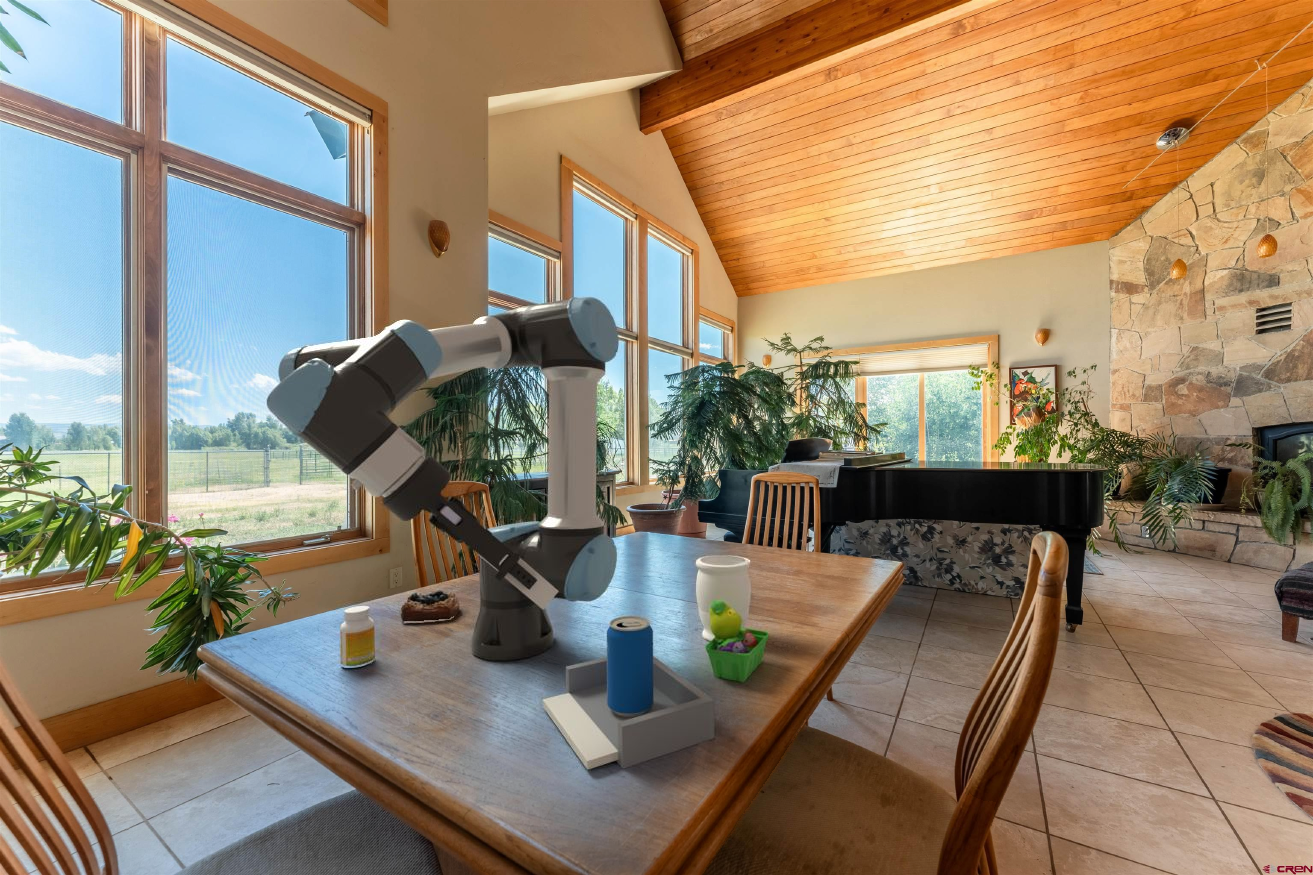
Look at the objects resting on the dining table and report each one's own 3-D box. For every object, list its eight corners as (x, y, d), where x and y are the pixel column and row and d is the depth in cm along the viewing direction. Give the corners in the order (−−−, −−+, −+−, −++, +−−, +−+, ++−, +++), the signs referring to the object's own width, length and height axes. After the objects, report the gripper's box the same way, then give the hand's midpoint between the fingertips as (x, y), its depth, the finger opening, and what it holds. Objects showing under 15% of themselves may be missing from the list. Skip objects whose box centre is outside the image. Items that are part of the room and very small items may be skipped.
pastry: (408, 611, 128) (408, 586, 128) (462, 607, 131) (462, 582, 131) (396, 627, 117) (395, 599, 117) (455, 622, 120) (455, 595, 120)
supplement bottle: (382, 660, 100) (380, 606, 99) (354, 671, 95) (353, 615, 95) (361, 655, 102) (360, 602, 102) (333, 666, 97) (332, 611, 97)
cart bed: (540, 706, 81) (539, 672, 81) (644, 679, 90) (643, 648, 90) (591, 779, 64) (590, 736, 64) (714, 737, 72) (713, 699, 72)
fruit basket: (748, 687, 86) (747, 615, 86) (697, 676, 91) (695, 607, 91) (771, 661, 96) (770, 596, 96) (723, 652, 101) (722, 590, 101)
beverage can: (606, 698, 80) (606, 615, 80) (651, 695, 81) (650, 613, 81) (607, 721, 74) (607, 631, 74) (655, 718, 74) (655, 629, 74)
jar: (749, 627, 113) (748, 554, 113) (753, 647, 103) (752, 566, 102) (697, 626, 114) (696, 554, 114) (696, 645, 104) (694, 566, 104)
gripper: (373, 491, 73) (490, 587, 81) (385, 513, 52) (543, 641, 59) (415, 450, 76) (525, 546, 83) (444, 455, 54) (589, 584, 62)
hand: (533, 586), depth 71 cm, fingers open, 13 cm apart
